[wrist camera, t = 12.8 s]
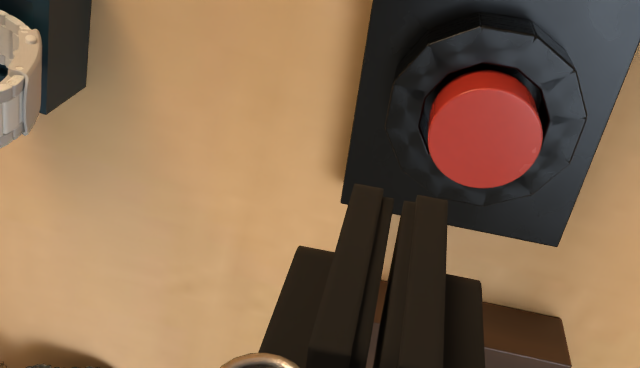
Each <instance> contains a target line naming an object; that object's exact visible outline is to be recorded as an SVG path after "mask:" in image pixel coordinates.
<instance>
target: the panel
mask: <svg viewBox="0 0 640 368" xmlns="http://www.w3.org/2000/svg"><path fill="white" fill-rule="evenodd" d="M387 283H388V282H386V281H380V287H379V293H378V299H377V305H376V311H375V317H374V323H373V329H372V335H371V341H370V347H369V352H368V358H367V364H366V368H373V363H374V356H375V350H376V344H377V337H378V331H379V325H380V319H381V314H382V308H383V303H384V298H385V293H386V288H387ZM482 307H483V329H484V352H485V368H571V367H572V365H571V360H570V356H569V351H568V346H567V342H566V337H565V333H564V328H563V323H562V320H561V319H559V318H554V317H550V316H545V315H540V314H536V313H531V312H526V311H522V310H517V309H512V308H508V307H503V306H498V305H494V304H489V303H484V302H482Z"/></svg>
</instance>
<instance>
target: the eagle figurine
mask: <svg viewBox="0 0 640 368" xmlns="http://www.w3.org/2000/svg"><path fill="white" fill-rule="evenodd" d="M0 368H7V367H6V366H5V365H4V362H3V361H2V362H0ZM26 368H52V367H51V366H50V365H45V364H37V365H34V366H27V367H26ZM55 368H59V367H55ZM72 368H77V367H72ZM86 368H93V367H91V366H88V367H86ZM97 368H98V367H97Z"/></svg>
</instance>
